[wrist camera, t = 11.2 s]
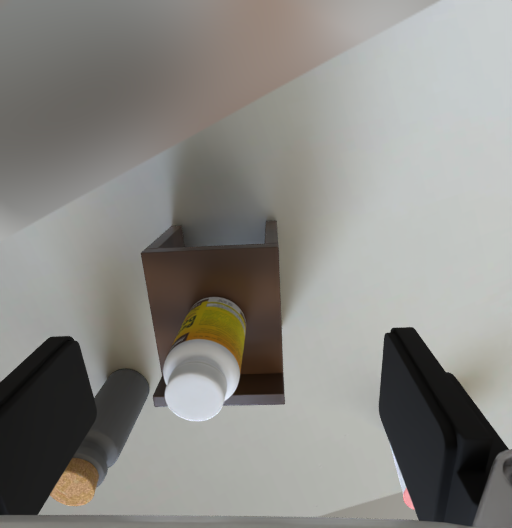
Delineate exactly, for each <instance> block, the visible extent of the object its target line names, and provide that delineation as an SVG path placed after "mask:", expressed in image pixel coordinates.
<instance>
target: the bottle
mask: <svg viewBox="0 0 512 528" xmlns="http://www.w3.org/2000/svg"><path fill="white" fill-rule="evenodd" d="M148 394H149V385H148V382H147V380H146V379H145V378H144V377H143V376H142V375H141V374H140V373H138V372H136V371H133V370H129V369H121V370H118V371H115V372H114V373H112V374H111V375H110V377H109V378H108V379H107V381H106V382H105V383H104V385H103V386H102V388H101V389H100V391H99V392H98V394H97V395H96V396H95V398H94V400H95V404H96V408H97V416H96V420H95V422H94V424H93V425H92V427H91V429H90V430H89V432H88V433H87V435H86V437H85V438H84V440H83V442H82V443H81V445H80V446H79V448H78V450H77V451H76V453H75V455H74V456H73V458H72V459H71V461H70V463H69V464H68V466H67V468H66V469H65V471H64V473H63V474H62V476H61V477H60V479H59V481H58V482H57V484H56V486H55V487H54V489H53V490H52V492H51V494H50V496H52V497H53V498H54V499H55V500H57V501H58V502H60V503H62V504H65V505H69V506H81V505H84V504H86V503H88V502H90V501H91V499H92V498H93V496H94V493H95V489H96V487H98V486H99V485H100V484H101V483H102V482H103V480H104V478H105V476H106V474H107V470H108V468H109V467H111V466H112V465H113V464H114V463H115V462H116V461H117V459H118V457H119V455H120V453H121V451H122V449H123V447H124V445H125V443H126V441H127V439H128V437H129V435H130V432H131V430H132V428H133V426H134V424H135V422H136V420H137V418H138V416H139V414H140V412H141V409H142V407H143V405H144V403H145V401H146V399H147V396H148Z"/></svg>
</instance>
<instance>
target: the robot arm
mask: <svg viewBox="0 0 512 528" xmlns="http://www.w3.org/2000/svg"><path fill="white" fill-rule="evenodd" d="M379 413H380V418H381V421H382V423H383V426H384V429H385V431H386V434H387V437H388V439H389V442H390V445H391V447H392V450H393V453H394V455H395V458H396V461H397V463H398V466H399V469H400V471H401V474H402V477H403V479H404V482H405V485H406V487H407V490H408V493H409V495H410V498H411V501H412V503H413V506H414V509H415V511H416V514H417V517H418V519H419V521H418V520H401V519H371V518H339V517H336V518H335V517H267V516H164V515H38V513H39V512H40V510H41V508H42V507H43V505H44V503H45V502H46V500H47V499H48V497H49V495H50V494H51V492H52V490H53V489H54V487H55V486H56V484H57V482H58V481H59V479H60V477H61V476H62V474H63V473H64V471H65V469H66V468H67V466H68V464H69V463H70V461H71V459H72V458H73V456H74V455H75V453H76V451H77V450H78V448H79V446H80V445H81V443H82V442H83V440H84V438H85V437H86V435H87V433H88V432H89V430H90V429H91V427H92V425H93V424H94V422H95V420H96V416H97V408H96V404H95V400H94V397H93V393H92V389H91V386H90V382H89V378H88V375H87V371H86V367H85V364H84V360H83V356H82V353H81V349H80V345H79V343H78V342H77V341H74V339H73V338H72V337H70V336H62V337H50V338H48V339H47V340H46V341H45V342H44V343H43V344H42V345H41V346H39V347H38V348H37V349H36V350H35V351H34V352H33V353H32V354H31V355H30V356H29V357H27V358H26V359H25V360H24V361H23V362H22V363H21V364H20V365H19V366H18V367H17V368H16V369H14V370H13V371H12V372H11V373H10V374H9V375H8V376H7V377H6V378H5V379H4V380H2V381H1V382H0V528H512V449H511V450H509V449H508V448H507V446H506V445H505V444H504V442H503V441H502V439H501V438H500V437H499V435H498V434H497V433H496V431H495V430H494V429H493V427H492V426H491V425H490V423H489V422H488V421H487V419H486V418H485V417H484V415H483V414H482V413H481V411H480V410H479V408H478V407H477V406H476V404H475V403H474V402H473V400H472V399H471V398H470V396H469V395H468V394H467V392H466V391H465V390H464V388H463V387H462V386H461V384H460V383H459V382H458V380H457V379H456V378H455V377H454V375H453V374H451V373H449V372H445V371H444V369H443V368H442V366H441V365H440V364H439V362H438V361H437V359H436V358H435V357H434V355H433V354H432V353H431V351H430V350H429V348H428V347H427V346H426V344H425V343H424V341H423V340H422V339H421V337H420V336H419V334H418V333H417V332H416V330H415V329H414V328H412V327H406V328H392V329H391V333H386V334H385V337H384V348H383V360H382V373H381V385H380V398H379Z"/></svg>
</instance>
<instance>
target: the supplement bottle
mask: <svg viewBox="0 0 512 528" xmlns="http://www.w3.org/2000/svg"><path fill="white" fill-rule="evenodd" d="M245 334H246V320H245V317H244V314H243V312H242V311H241V309H240V308H239V307H238V306H237V305H236V304H235V303H233V302H232V301H230V300H227V299H225V298H221V297H209V298H205V299H202V300H200V301H198V302H197V303H196V304H194V305H193V306H192V308H191V309H190V310H189V312H188V314H187V316H186V318H185V320H184V322H183V324H182V326H181V328H180V330H179V332H178V335H177V337H176V338H175V340H174V343H173V345H172V347H171V349H170V351H169V353H168V355H167V357H166V360H165V363H164V367H163V376H164V380H165V383H166V385H167V386H166V389H165V400H166V403H167V405H168V407H169V408H170V410H171V411H172V412H173V413H175V414H176V415H177V416H179V417H181V418H183V419H186V420H189V421H204V420H207V419H210V418H212V417H214V416H215V415H216V414H217V413H218V412H219V411H220V410H221V408H222V406H223V404H224V401H225V400H227V399H228V398H229V397H230V396H231V395H232V394H233V393H234V392H235V390H236V388H237V386H238V383H239V378H240V371H241V363H242V356H243V349H244V341H245Z"/></svg>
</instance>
